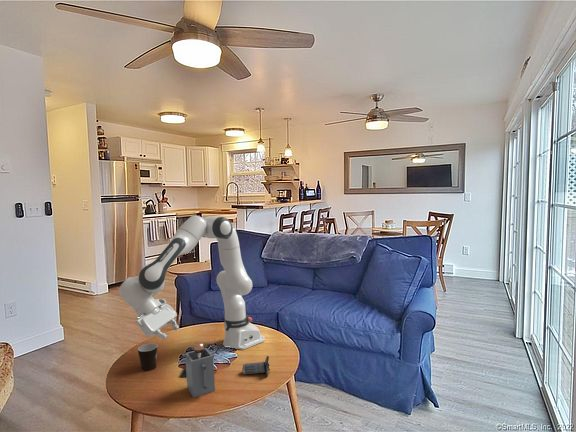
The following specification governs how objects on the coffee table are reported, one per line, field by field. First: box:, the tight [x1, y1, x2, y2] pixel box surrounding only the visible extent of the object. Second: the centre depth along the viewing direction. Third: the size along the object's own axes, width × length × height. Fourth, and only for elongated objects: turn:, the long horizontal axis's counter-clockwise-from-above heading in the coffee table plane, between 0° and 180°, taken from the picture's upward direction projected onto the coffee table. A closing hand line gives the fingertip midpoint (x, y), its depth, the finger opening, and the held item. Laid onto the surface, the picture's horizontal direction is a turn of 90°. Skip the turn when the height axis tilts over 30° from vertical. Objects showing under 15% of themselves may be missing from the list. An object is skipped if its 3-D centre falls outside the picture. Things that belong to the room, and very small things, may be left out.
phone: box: [179, 364, 187, 379], centre depth 166 cm, size 8×1×15 cm
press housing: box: [184, 347, 216, 398], centre depth 148 cm, size 9×12×15 cm
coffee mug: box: [137, 342, 158, 372], centre depth 170 cm, size 12×9×10 cm
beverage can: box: [242, 355, 271, 378], centre depth 160 cm, size 9×8×12 cm
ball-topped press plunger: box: [193, 341, 204, 359], centre depth 148 cm, size 6×6×14 cm
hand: (171, 333), depth 150 cm, fingers open, 8 cm apart
